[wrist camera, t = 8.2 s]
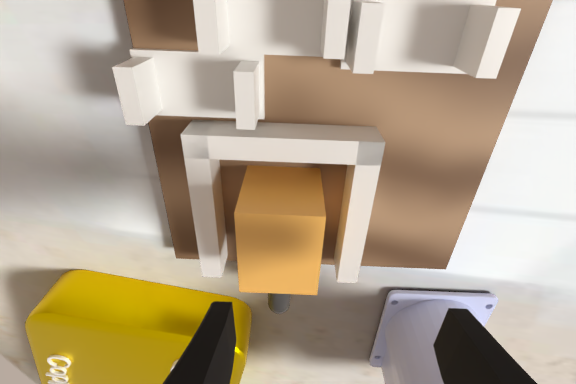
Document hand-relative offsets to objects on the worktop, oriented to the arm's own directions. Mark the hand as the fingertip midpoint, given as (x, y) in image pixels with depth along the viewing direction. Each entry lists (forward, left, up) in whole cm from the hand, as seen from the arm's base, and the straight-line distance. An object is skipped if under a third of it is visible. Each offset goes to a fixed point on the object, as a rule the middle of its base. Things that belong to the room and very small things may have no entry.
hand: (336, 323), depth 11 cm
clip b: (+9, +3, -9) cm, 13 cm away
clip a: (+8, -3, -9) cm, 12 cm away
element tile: (-17, +13, -10) cm, 24 cm away
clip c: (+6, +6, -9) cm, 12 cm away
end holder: (-1, +2, -9) cm, 9 cm away
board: (+2, 0, -10) cm, 10 cm away
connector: (-3, +2, -9) cm, 10 cm away
